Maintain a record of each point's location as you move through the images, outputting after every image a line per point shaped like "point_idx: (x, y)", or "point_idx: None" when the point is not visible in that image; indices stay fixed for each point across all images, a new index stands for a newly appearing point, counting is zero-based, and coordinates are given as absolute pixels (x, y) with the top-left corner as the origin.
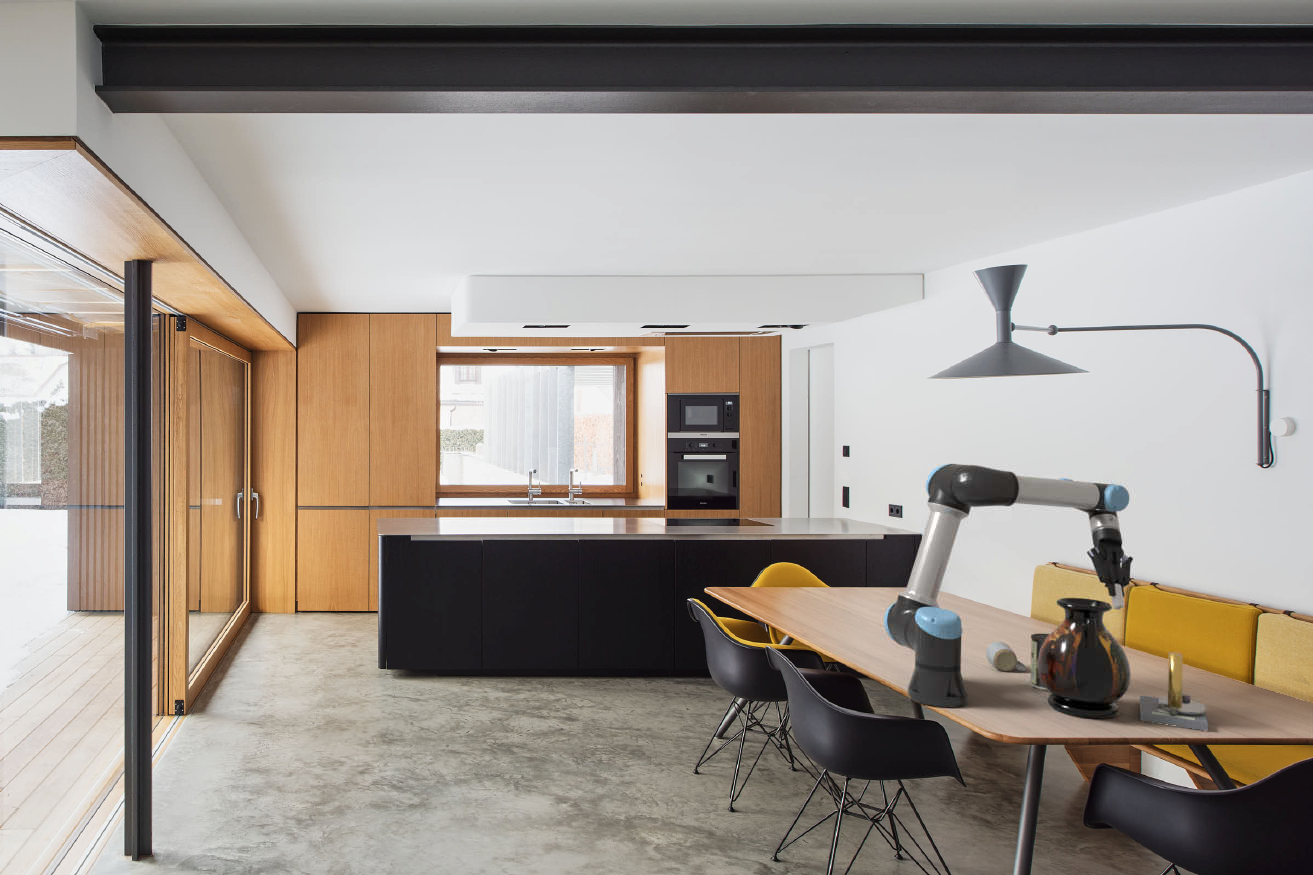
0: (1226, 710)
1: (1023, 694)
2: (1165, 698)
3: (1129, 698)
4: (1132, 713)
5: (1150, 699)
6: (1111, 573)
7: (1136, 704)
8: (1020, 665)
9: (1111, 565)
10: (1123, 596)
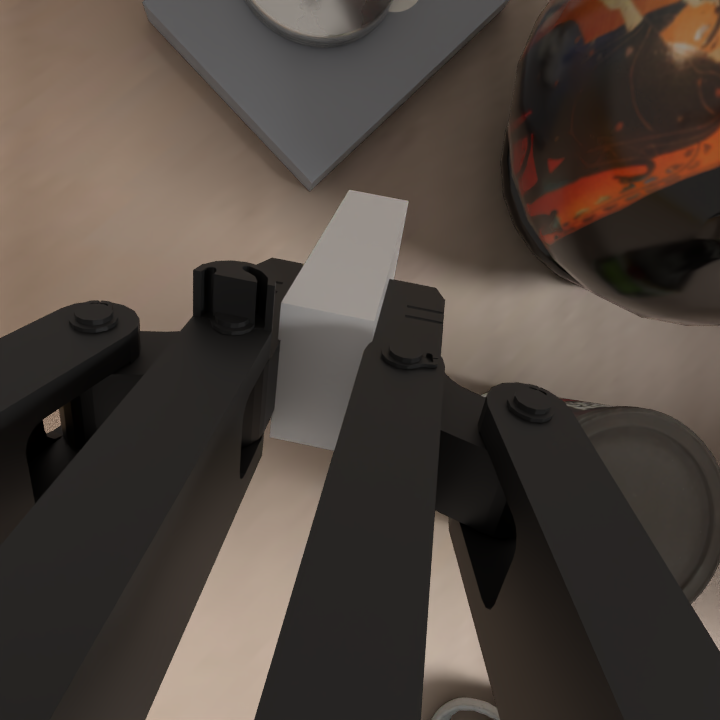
0: (12, 2)
1: (683, 390)
2: (338, 14)
3: (302, 250)
4: (458, 87)
5: (319, 119)
6: (400, 462)
7: (344, 175)
8: (482, 706)
9: (315, 666)
10: (282, 260)
